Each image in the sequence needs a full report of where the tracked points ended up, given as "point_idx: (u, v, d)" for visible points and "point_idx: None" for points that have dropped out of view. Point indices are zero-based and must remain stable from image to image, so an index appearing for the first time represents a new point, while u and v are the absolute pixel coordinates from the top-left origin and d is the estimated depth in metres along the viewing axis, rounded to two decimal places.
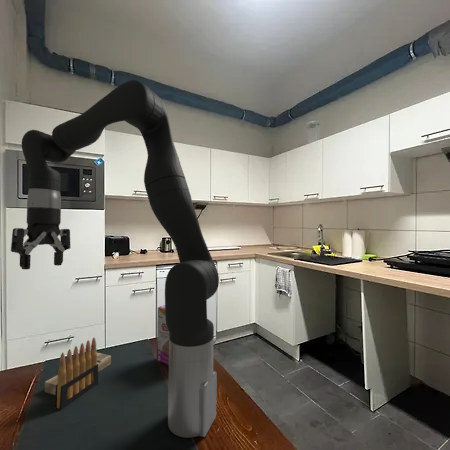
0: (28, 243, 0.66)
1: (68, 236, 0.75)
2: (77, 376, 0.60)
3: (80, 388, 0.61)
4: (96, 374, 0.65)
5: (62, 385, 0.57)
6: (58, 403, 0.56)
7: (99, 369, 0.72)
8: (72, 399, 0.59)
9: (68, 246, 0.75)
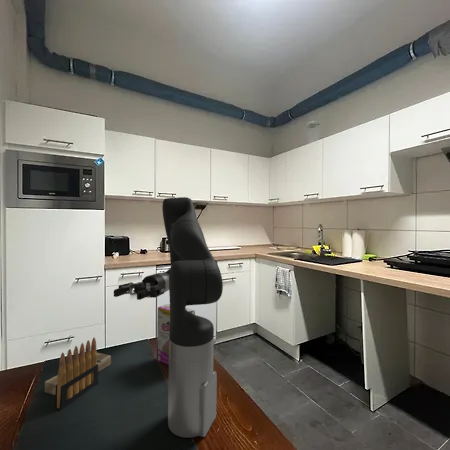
0: None
1: (160, 287, 0.82)
2: (77, 376, 0.60)
3: (80, 388, 0.61)
4: (96, 374, 0.65)
5: (62, 385, 0.57)
6: (58, 403, 0.56)
7: (99, 369, 0.72)
8: (72, 399, 0.59)
9: (154, 288, 0.80)
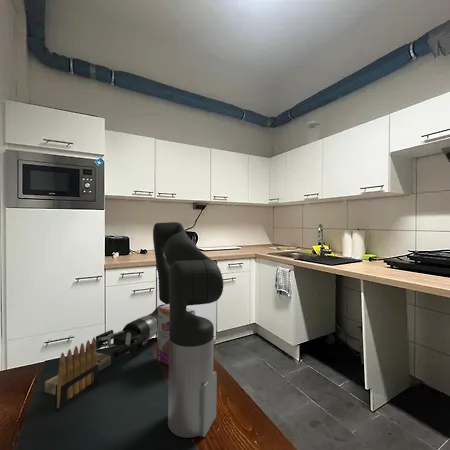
0: None
1: (141, 339, 0.73)
2: (77, 376, 0.60)
3: (80, 388, 0.61)
4: (96, 374, 0.65)
5: (62, 385, 0.57)
6: (58, 403, 0.56)
7: (99, 369, 0.72)
8: (72, 399, 0.59)
9: (134, 343, 0.71)
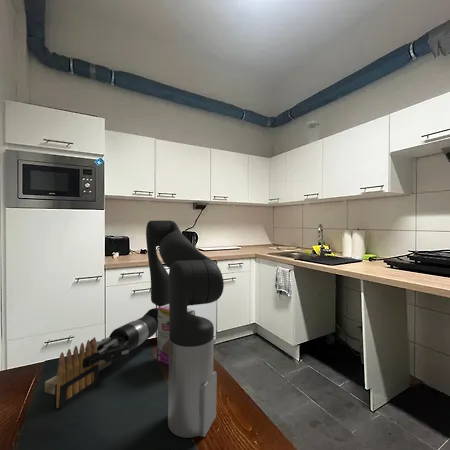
0: None
1: (120, 348, 0.67)
2: (77, 376, 0.60)
3: (80, 388, 0.61)
4: (96, 374, 0.65)
5: (61, 385, 0.57)
6: (57, 403, 0.56)
7: (99, 369, 0.72)
8: (72, 399, 0.59)
9: (108, 350, 0.66)
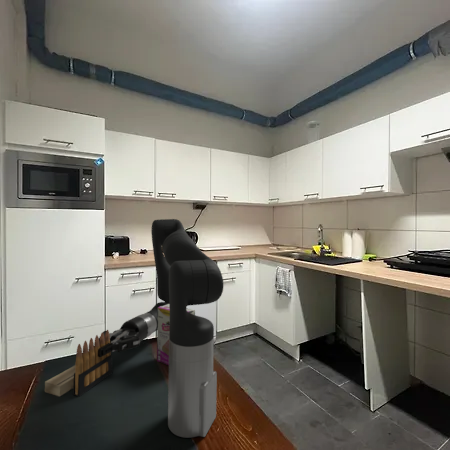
0: None
1: (131, 339, 0.72)
2: (93, 365, 0.65)
3: (96, 376, 0.66)
4: (110, 364, 0.70)
5: (79, 373, 0.61)
6: (76, 390, 0.61)
7: None
8: (89, 387, 0.63)
9: (120, 341, 0.70)
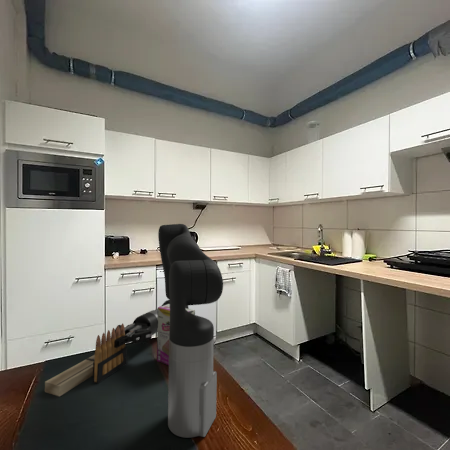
0: None
1: (144, 332, 0.77)
2: (110, 356, 0.70)
3: (112, 366, 0.71)
4: (125, 355, 0.75)
5: (98, 362, 0.66)
6: (95, 377, 0.66)
7: None
8: (107, 375, 0.69)
9: (134, 334, 0.75)
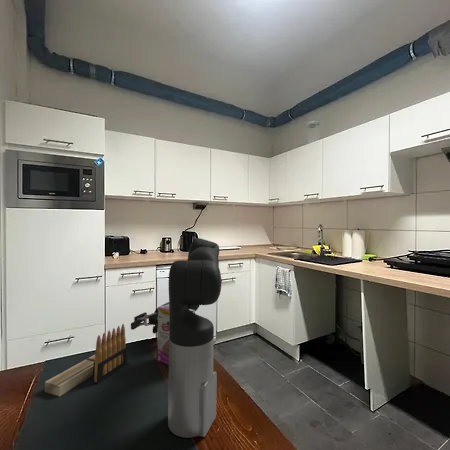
0: None
1: None
2: (110, 356, 0.70)
3: (112, 367, 0.71)
4: (125, 356, 0.75)
5: (99, 362, 0.66)
6: (95, 378, 0.66)
7: None
8: (107, 375, 0.69)
9: None
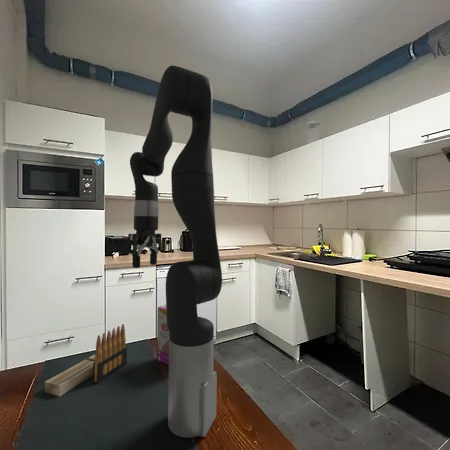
0: (138, 246, 0.78)
1: (160, 240, 0.88)
2: (110, 356, 0.70)
3: (112, 367, 0.71)
4: (125, 356, 0.75)
5: (99, 362, 0.66)
6: (95, 378, 0.66)
7: None
8: (107, 375, 0.69)
9: (160, 248, 0.88)
